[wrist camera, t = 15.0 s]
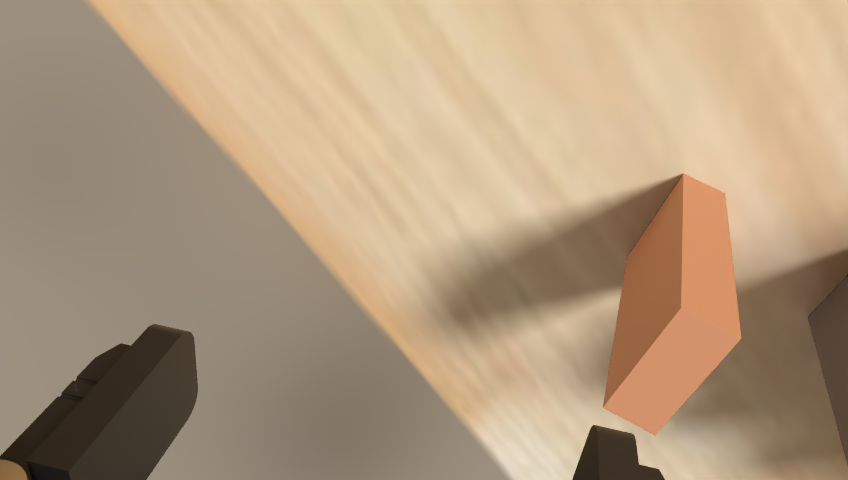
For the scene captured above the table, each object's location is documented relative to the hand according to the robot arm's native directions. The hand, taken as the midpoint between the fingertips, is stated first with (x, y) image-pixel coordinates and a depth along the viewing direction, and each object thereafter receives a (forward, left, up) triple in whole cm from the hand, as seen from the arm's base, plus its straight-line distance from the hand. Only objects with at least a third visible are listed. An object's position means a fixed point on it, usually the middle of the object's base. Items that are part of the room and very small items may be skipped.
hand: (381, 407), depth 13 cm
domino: (+5, -6, -20) cm, 22 cm away
